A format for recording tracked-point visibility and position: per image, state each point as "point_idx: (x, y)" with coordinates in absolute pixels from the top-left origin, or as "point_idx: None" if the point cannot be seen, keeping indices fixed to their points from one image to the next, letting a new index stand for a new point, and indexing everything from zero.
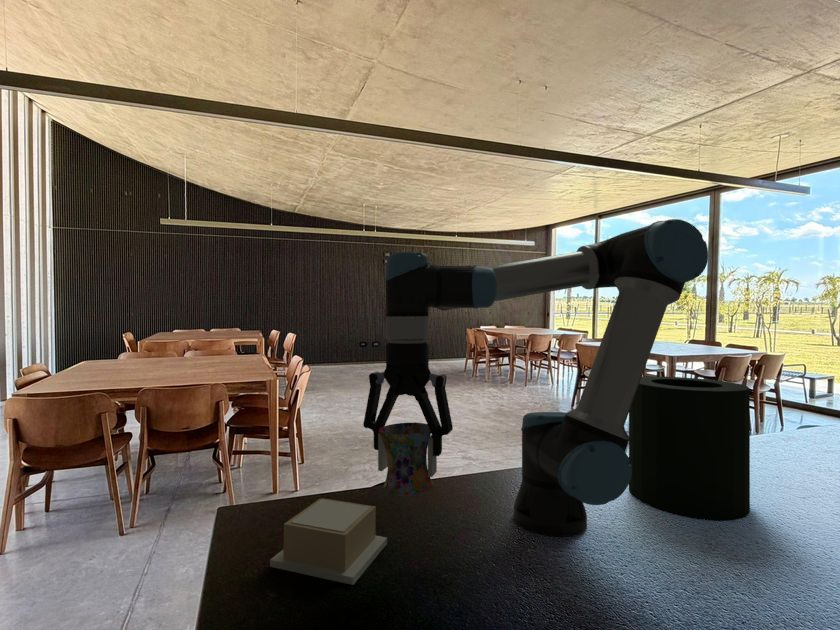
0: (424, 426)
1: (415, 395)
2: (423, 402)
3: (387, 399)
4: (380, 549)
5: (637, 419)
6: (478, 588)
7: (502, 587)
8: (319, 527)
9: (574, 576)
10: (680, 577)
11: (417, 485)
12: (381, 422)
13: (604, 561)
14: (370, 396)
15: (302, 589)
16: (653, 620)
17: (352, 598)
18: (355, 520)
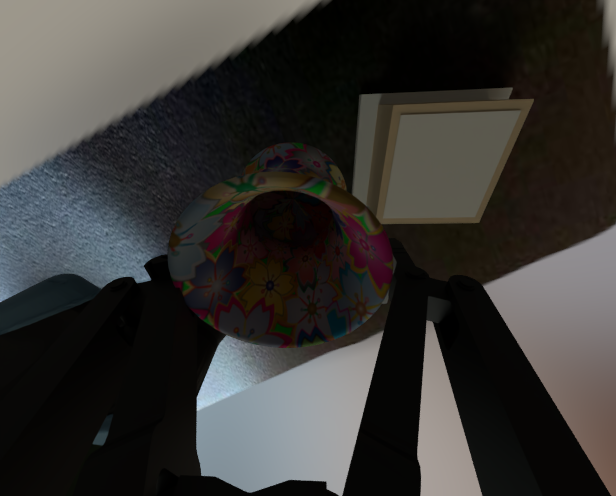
0: (246, 329)
1: (128, 481)
2: (126, 413)
3: (399, 429)
4: (352, 188)
5: (93, 444)
6: (211, 154)
7: (190, 167)
8: (453, 112)
9: (139, 214)
10: (65, 244)
11: (250, 170)
12: (396, 296)
13: (129, 249)
14: (566, 455)
15: (431, 49)
16: (43, 165)
17: (348, 60)
18: (392, 165)
